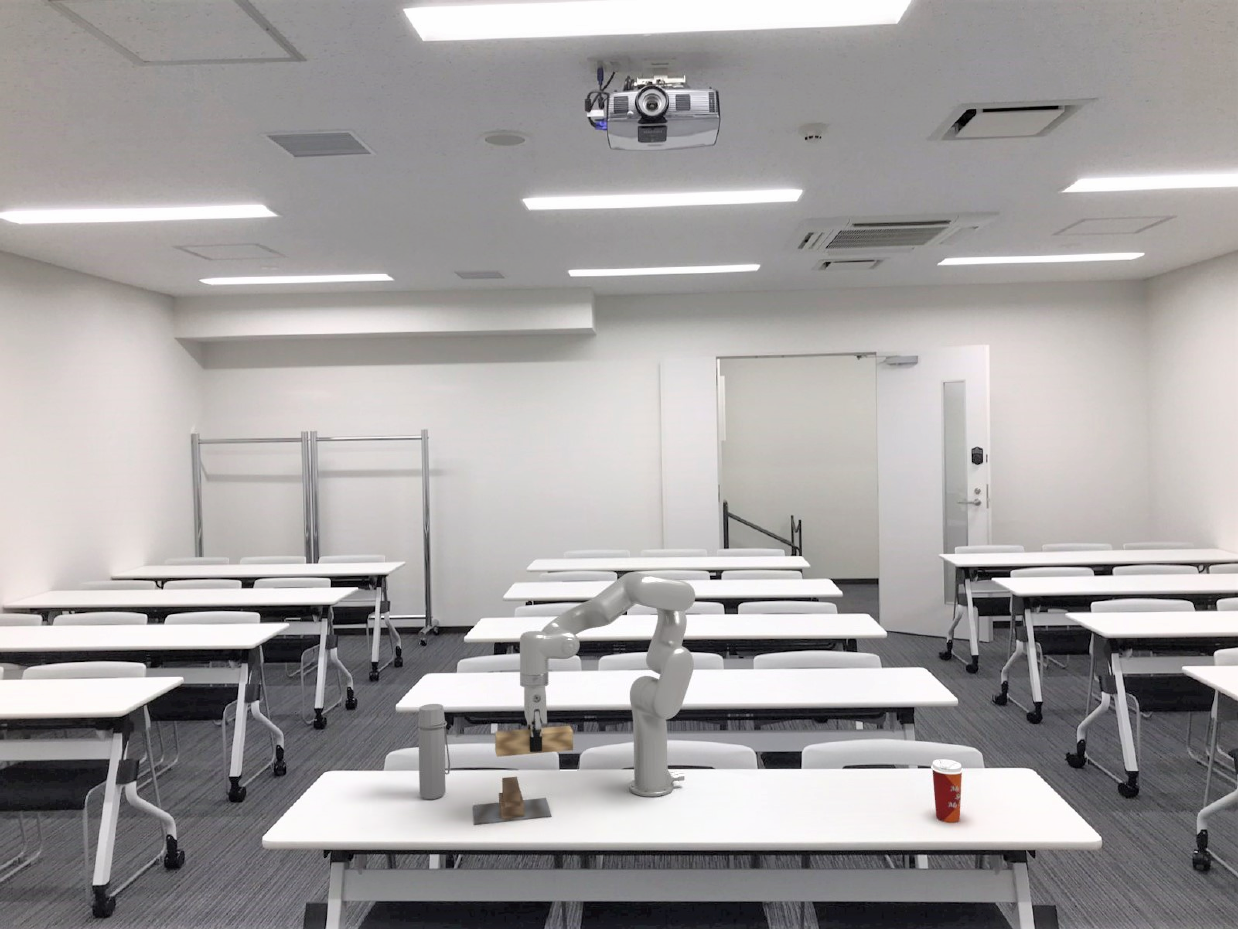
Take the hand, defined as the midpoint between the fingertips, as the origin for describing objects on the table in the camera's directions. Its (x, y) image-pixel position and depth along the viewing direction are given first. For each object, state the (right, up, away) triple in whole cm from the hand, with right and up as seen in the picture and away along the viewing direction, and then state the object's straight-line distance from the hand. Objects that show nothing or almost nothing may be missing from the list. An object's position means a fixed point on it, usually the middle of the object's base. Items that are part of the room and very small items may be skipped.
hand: (534, 747), depth 222 cm
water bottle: (-29, -19, +15) cm, 38 cm away
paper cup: (+107, -16, -7) cm, 108 cm away
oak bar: (0, -1, 0) cm, 1 cm away
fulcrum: (-6, -18, +3) cm, 19 cm away
